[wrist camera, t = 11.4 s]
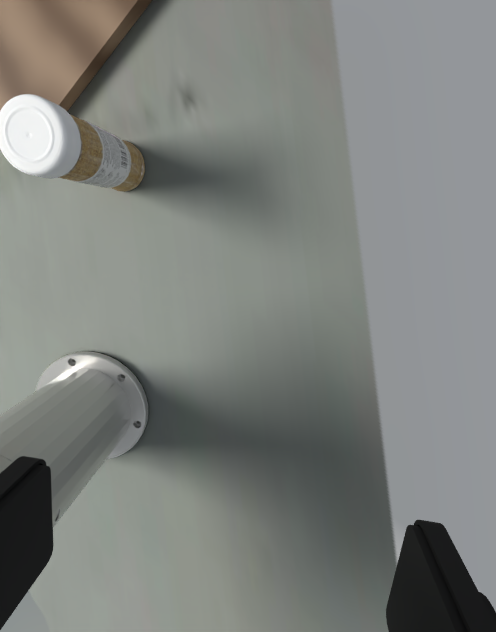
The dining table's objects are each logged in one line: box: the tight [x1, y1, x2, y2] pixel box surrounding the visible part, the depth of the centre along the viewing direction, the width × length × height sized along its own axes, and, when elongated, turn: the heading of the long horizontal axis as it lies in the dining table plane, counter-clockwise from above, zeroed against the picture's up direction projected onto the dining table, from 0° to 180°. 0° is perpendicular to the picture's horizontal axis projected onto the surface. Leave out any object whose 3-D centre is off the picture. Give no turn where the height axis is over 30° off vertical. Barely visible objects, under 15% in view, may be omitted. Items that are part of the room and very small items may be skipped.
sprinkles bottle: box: [0, 94, 145, 191], centre depth 29 cm, size 5×5×14 cm
